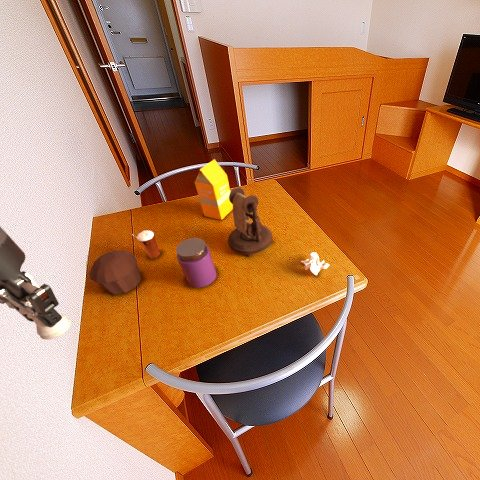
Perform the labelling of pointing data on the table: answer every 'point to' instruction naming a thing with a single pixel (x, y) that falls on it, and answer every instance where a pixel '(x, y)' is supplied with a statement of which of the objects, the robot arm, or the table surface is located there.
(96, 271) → the muffin
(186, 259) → the jar lid
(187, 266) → the jar
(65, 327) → the rook chess piece
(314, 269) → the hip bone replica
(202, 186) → the orange juice
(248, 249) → the scroll
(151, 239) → the milkshake
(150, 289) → the table surface
